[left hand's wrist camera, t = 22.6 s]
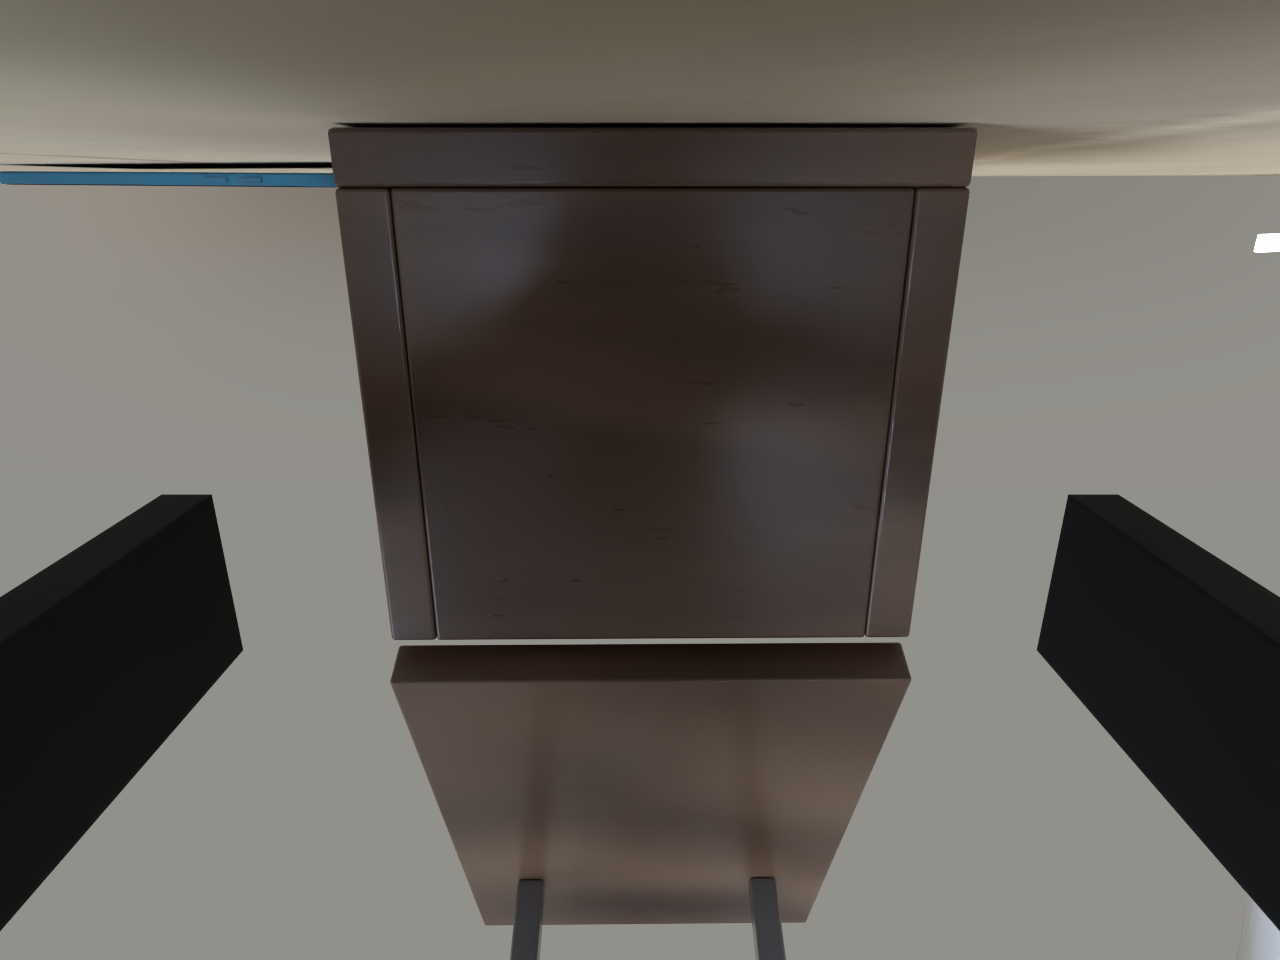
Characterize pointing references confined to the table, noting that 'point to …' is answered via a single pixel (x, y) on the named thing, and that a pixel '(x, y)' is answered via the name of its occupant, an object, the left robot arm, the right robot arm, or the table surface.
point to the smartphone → (169, 179)
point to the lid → (648, 775)
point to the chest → (651, 373)
